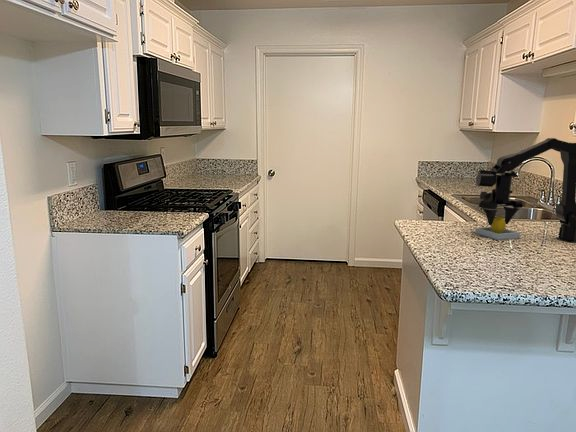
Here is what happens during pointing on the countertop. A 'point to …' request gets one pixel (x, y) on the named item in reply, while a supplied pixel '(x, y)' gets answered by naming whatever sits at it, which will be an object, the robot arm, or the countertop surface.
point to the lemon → (498, 225)
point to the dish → (502, 236)
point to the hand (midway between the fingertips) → (498, 224)
